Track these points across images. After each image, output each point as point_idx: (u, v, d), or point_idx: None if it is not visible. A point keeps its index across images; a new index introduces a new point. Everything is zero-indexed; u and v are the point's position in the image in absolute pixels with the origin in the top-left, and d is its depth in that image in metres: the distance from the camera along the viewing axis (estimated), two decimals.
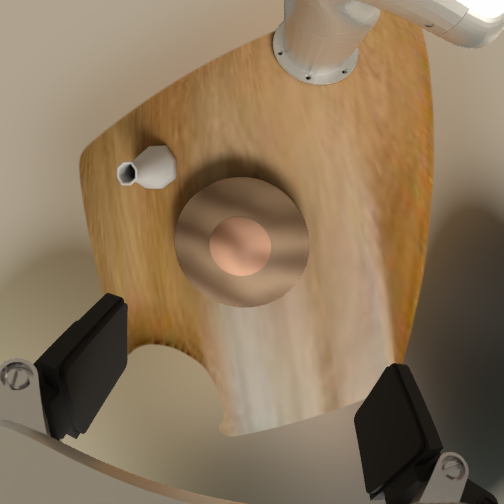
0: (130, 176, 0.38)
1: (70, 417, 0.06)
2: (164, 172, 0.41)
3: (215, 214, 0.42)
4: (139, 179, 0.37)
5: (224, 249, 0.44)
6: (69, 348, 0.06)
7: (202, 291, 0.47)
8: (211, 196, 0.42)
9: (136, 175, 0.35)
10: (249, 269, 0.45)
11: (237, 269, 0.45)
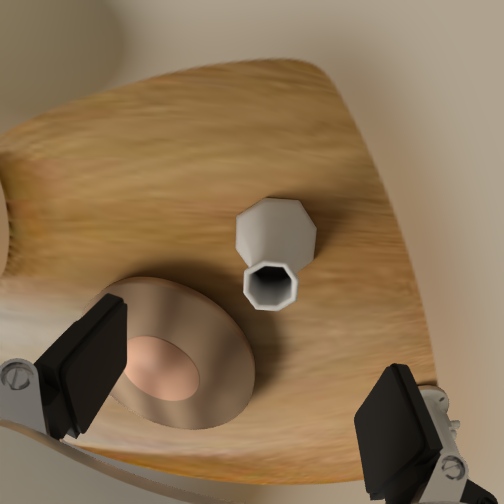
0: (262, 247, 0.19)
1: (70, 417, 0.06)
2: (265, 277, 0.24)
3: (198, 350, 0.27)
4: (254, 280, 0.19)
5: (150, 354, 0.28)
6: (69, 348, 0.06)
7: None
8: (224, 348, 0.26)
9: (264, 308, 0.17)
10: (132, 375, 0.29)
11: (127, 362, 0.29)
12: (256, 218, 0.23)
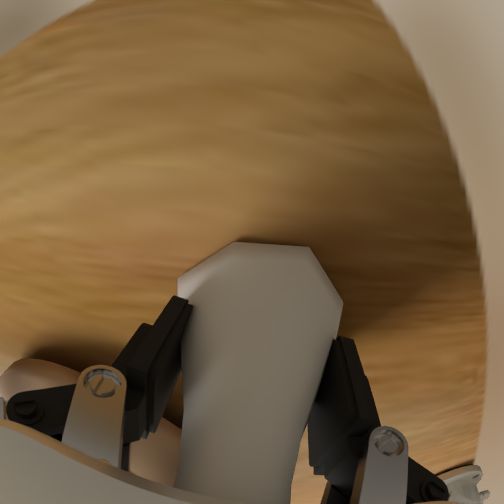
0: (208, 420, 0.06)
1: (146, 418, 0.07)
2: None
3: (141, 468, 0.14)
4: None
5: None
6: (153, 350, 0.07)
7: None
8: None
9: None
10: None
11: None
12: (210, 300, 0.10)
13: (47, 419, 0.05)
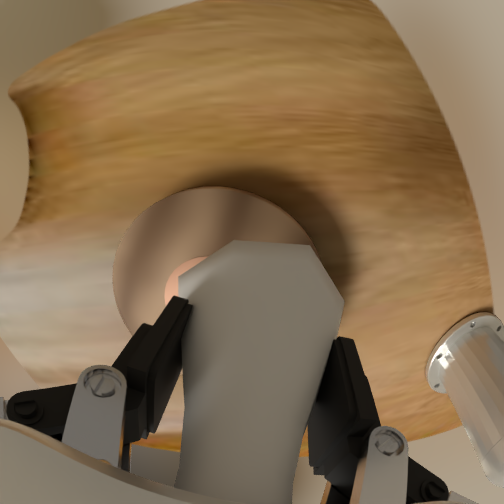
0: (209, 419, 0.06)
1: (146, 418, 0.07)
2: None
3: None
4: None
5: None
6: (153, 350, 0.07)
7: (124, 241, 0.25)
8: None
9: None
10: None
11: None
12: (211, 299, 0.10)
13: (47, 419, 0.05)
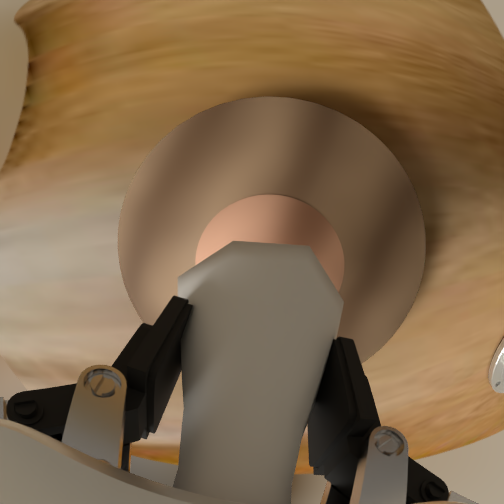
0: (208, 420, 0.06)
1: (146, 418, 0.07)
2: None
3: (353, 214, 0.16)
4: None
5: (263, 233, 0.17)
6: (153, 350, 0.07)
7: (142, 171, 0.17)
8: (395, 209, 0.16)
9: None
10: None
11: None
12: (210, 299, 0.10)
13: (47, 419, 0.05)
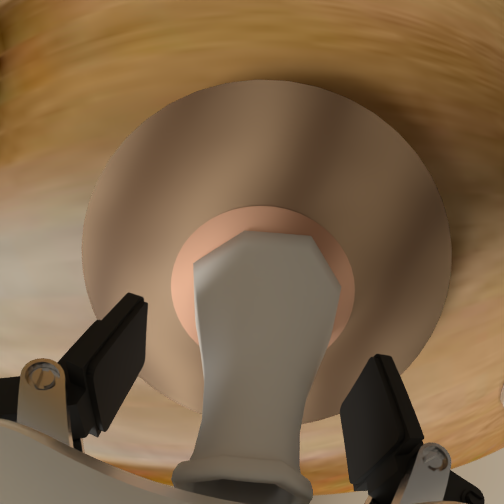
0: (228, 377, 0.08)
1: (93, 415, 0.06)
2: None
3: (367, 231, 0.13)
4: None
5: None
6: (95, 347, 0.07)
7: (104, 177, 0.13)
8: (418, 224, 0.12)
9: None
10: (193, 320, 0.15)
11: (188, 288, 0.15)
12: (225, 280, 0.11)
13: None
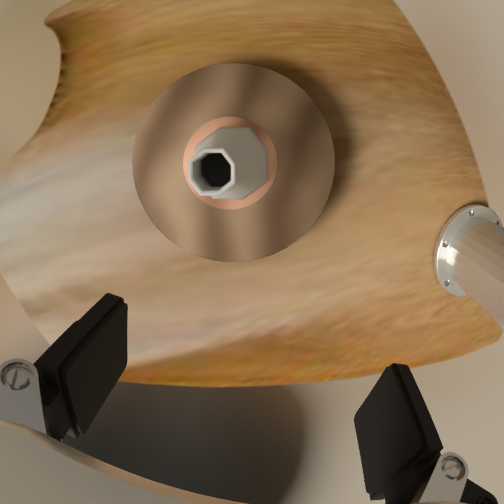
0: None
1: (70, 417, 0.06)
2: None
3: (278, 124, 0.26)
4: (202, 179, 0.20)
5: None
6: (69, 348, 0.06)
7: (150, 111, 0.26)
8: (306, 119, 0.26)
9: (207, 194, 0.19)
10: None
11: None
12: (210, 140, 0.24)
13: None
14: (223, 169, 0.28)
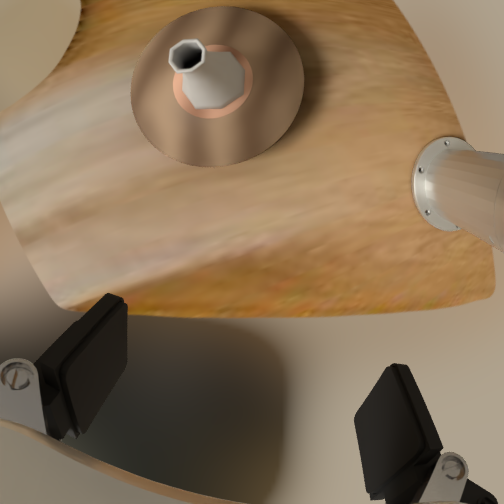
0: (190, 54, 0.22)
1: (70, 417, 0.06)
2: (200, 97, 0.27)
3: (255, 50, 0.27)
4: None
5: None
6: (69, 348, 0.06)
7: (150, 43, 0.27)
8: (278, 46, 0.27)
9: (182, 71, 0.20)
10: (181, 95, 0.29)
11: (180, 80, 0.29)
12: (195, 56, 0.25)
13: None
14: None
